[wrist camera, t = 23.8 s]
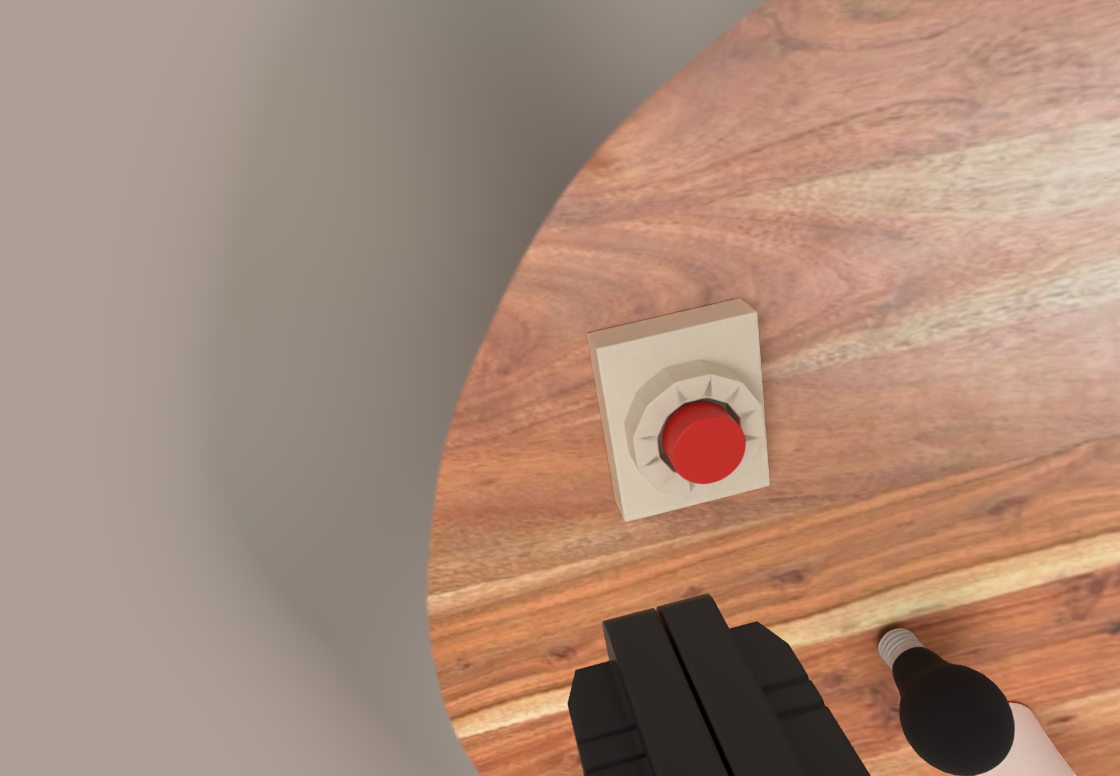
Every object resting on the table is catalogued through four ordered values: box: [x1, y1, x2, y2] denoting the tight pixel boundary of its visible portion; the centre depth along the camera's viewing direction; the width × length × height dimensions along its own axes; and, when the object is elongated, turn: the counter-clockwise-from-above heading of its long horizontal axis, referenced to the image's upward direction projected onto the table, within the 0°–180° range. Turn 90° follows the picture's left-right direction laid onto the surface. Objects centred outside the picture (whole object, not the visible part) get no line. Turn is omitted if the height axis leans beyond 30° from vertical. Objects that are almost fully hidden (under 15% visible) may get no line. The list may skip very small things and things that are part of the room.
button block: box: [587, 298, 770, 522], centre depth 42 cm, size 10×8×4 cm
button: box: [662, 401, 746, 484], centre depth 39 cm, size 4×4×2 cm
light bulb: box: [878, 628, 1015, 776], centre depth 48 cm, size 6×6×10 cm
